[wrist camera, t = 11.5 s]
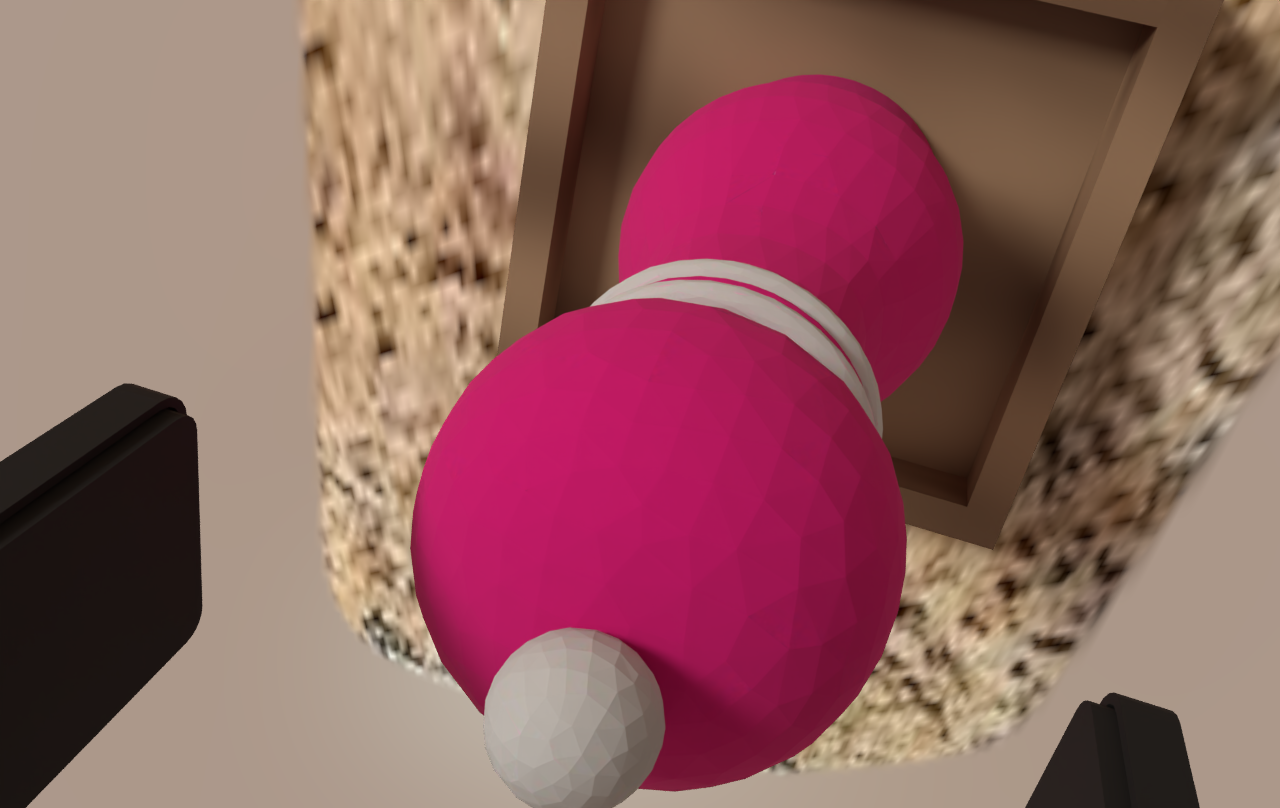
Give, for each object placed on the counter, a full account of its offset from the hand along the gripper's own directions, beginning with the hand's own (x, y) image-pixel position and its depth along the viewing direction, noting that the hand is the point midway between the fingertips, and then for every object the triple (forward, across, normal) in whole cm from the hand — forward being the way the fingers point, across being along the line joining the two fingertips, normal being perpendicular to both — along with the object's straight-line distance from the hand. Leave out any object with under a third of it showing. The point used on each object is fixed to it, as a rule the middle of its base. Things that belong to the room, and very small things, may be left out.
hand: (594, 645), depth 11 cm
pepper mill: (+19, 0, +1) cm, 19 cm away
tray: (+19, 0, +1) cm, 19 cm away
